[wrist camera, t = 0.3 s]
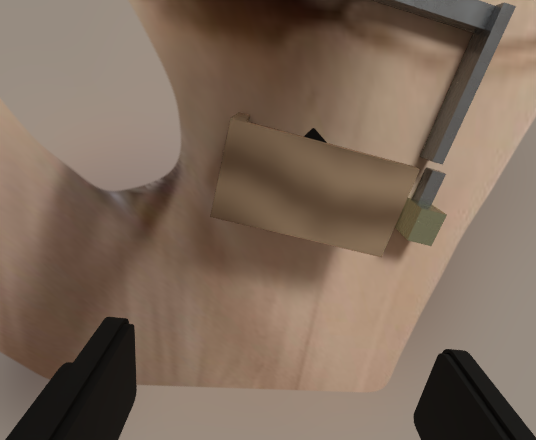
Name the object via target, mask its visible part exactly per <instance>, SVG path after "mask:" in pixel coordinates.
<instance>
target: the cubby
mask: <svg viewBox="0 0 536 440" xmlns="http://www.w3.org/2000/svg"><path fill="white" fill-rule="evenodd" d="M249 117H250V115H248V114H244V113H241V112H239V113H238V114H236V115H235V116H233V117H232V118H231V119H230V124H229V129H228V133H227V138H226V143H225V148H224V153H223V158H222V162H221V167H220V172H219V177H218V182H217V187H216V191H215V196H214V201H213V206H212V211H211V215H210V217H213V218H217V219H221V220H226V221H230V222H234V223H238V224H243V225H247V226H251V227H255V228H260V229H264V230H268V231H272V232H277V233H281V234H285V235H289V236H293V237H298V238H302V239H306V240H310V241H315V242H319V243H323V244H327V245H332V246H336V247H340V248H344V249H349V250H353V251H357V252H361V253H366V254H370V255H374V256H378V257H382V255H383V252H384V250H385V248H386V246H387V243H388V241H389V239H390V237H391V234H392V232H393V230H394V227H395V225H396V223H397V221H398V218H399V216H400V214H401V212H402V209H403V207H404V205H405V202H406V200H407V198H408V196H409V193H410V191H411V189H412V187H413V184H414V182H415V180H416V177H417V175H418V173H419V171H420V169H419V168H416V167H414V166H410V165H406V164H403V163H399V162H395V161H392V160H388V159H384V158H380V157H377V156H373V155H369V154H366V153H362V152H358V151H354V150H351V149H347V148H343V147H340V146H336V145H332V144H328V143H325V142H321V141H317V140H314V139H310V138H306V137H302V136H299V135H295V134H291V133H288V132H284V131H280V130H276V129H273V128H269V127H265V126H262V125H258V124H254V123H250V122H249Z"/></svg>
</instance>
